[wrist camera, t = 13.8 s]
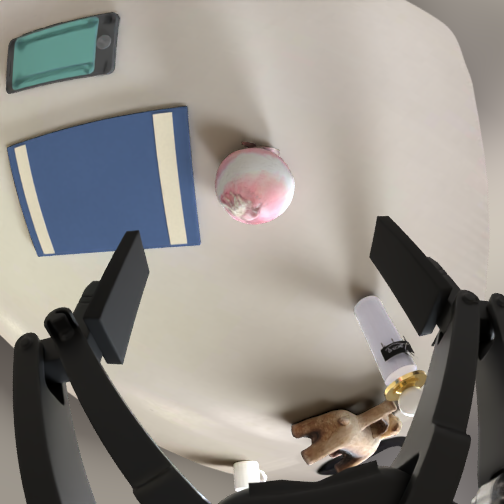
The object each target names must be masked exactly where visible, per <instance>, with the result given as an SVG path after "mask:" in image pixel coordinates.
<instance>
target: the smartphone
mask: <svg viewBox="0 0 504 504" xmlns="http://www.w3.org/2000/svg"><path fill="white" fill-rule="evenodd" d="M119 19H120V18H119V15H117V14H116V13H113V12H111V13H105V14H100V15H94V16H90V17H85V18H80V19H76V20H72V21H68V22H64V23H63V22H61V23H58V24H54V25H51V26H47V27H46V28H44V29H43V28H41V29H38V30H35V31H33V32H29V33H26V34H24V35H22V36H20V37H18V38H15V39H13V40H11V42H10V43H9V48H8V59H7V76H6V91H7V93H8V94H11V93H15V92H19V91H22V90H26V89H30V88H34V87H38V86H42V85H47V84H51V83H56V82H61V81H66V80H72V79H78V78H84V77H90V76H98V75H105V74H110V73H112V72H113V71H114V69H115V56H116V45H117V35H118V26H119Z"/></svg>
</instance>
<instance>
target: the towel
mask: <svg viewBox="0 0 504 504" xmlns="http://www.w3.org/2000/svg"><path fill="white" fill-rule="evenodd" d="M7 151H8V156H9V161H10V166H11V170H12V175H13V179H14V183H15V187H16V191H17V194H18V198H19V201H20V205H21V208H22V212H23V215H24V218H25V221H26V224H27V227H28V230H29V233H30V236H31V239H32V242H33V244H34V247H35V250H36V252H37V255H38V257H40V256H53V255H66V254H79V253H93V252H106V251H116V249H117V247H118V245H119V243H120V242H121V240H122V238H123V236H124V234H125V233H126V231H135V230H139V231H140V236H141V240H142V244H143V248H144V249H149V248H164V247H179V246H194V245H200V243H201V241H200V233H199V225H198V216H197V207H196V198H195V189H194V179H193V169H192V159H191V147H190V136H189V123H188V109H187V106H183V107H175V108H167V109H159V110H153V111H146V112H140V113H134V114H128V115H123V116H118V117H113V118H108V119H103V120H99V121H94V122H90V123H86V124H82V125H78V126H74V127H70V128H66V129H62V130H59V131H55V132H52V133H49V134H45V135H42V136H39V137H36V138H33V139H30V140H27V141H24V142H21V143H18V144H15V145H12V146H10V147H8V148H7Z"/></svg>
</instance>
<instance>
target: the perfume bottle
mask: <svg viewBox="0 0 504 504" xmlns="http://www.w3.org/2000/svg"><path fill="white" fill-rule="evenodd" d="M354 314H355V316H356V319H357V321H358V323H359V325H360V327H361V329H362V332H363V334H364V336H365V338H366V341H367V343H368V345H369V347H370V350H371V352H372V354H373V356H374V359H375V361H376V363H377V366H378V368H379V370H380V373H381V375H382V378H383V380H384V382H385V385H386V386H388V387H387V388H386V390H385V392H384V395H385V398H386V400H388V401H397V400H398V407H399V409H400V411H401V412H402V413H403V414H405V415H408V416H413V415H415V412H416V409H417V406H418V403H419V400H420V397H421V394H422V391H423V389H421V387H422V386H423V385H424V384H425V381H426V378H427V375H426V373H425V372H424V371H422V370H417V366H416V364H415V362H414V361H413V359H412V357H411V355H410V353H411V352H413V353H414V351H413V350H412V348H411V346H410V344H409V342H407V341H406V339H404V340H405V341H403V340H402V338H401V336H400V334H399V332H398V330H397V329H396V327H395V325H394V323H393V321H392V320H391V318H390V316H389V314H388V313H387V311H386V309H385V307H384V306H383V304H382V302H381V300H380V299H379V298H378V297H377V296H368V297H365V298H363V299H361V300H360V301H359V302H358V303H357V304H356V306H355V308H354ZM403 337H404V336H403ZM404 338H405V337H404ZM406 343H407V344H408V345H407V344H406ZM409 352H410V353H409ZM411 354H412V353H411ZM416 370H417V371H416Z"/></svg>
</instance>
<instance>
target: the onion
mask: <svg viewBox="0 0 504 504" xmlns="http://www.w3.org/2000/svg"><path fill="white" fill-rule="evenodd" d="M242 145H245V146H246V147H247V148H246V149H241V150H238V151H235V152H232V153H231V154H230V155H229V156H227V157H226V158H225V159H224V160H223V161H222V163H221V165H220V166H219V168H218V171H217V175H216V181H215V188H216V194H217V197H218V200H219V202H220V204H221V205H222V206H223V208H224V209H225V210H226V212H227V213H228V214H229V215H230V216H231V217H232V218H233V219H235V220H238V221H240V222H243V223H246V224H261V223H266V222H269V221H271V220H273V219H275V218H276V217H278V216H279V215H281V214H282V213H283V212H284V211H285V210H286V209H287V207H288V206H289V204H290V203H291V200H292V198H293V193H294V188H295V181H294V178H293V175H292V173H291V171H290V169H289V168H288V166H287V165H286V163H285V162H284V161H283V159H282V158H280V157H279V153H280V151H279V150H278V149H274V148H269V147H264V146H256V144H254V143H249V142H242ZM254 147H263V148H264V149H261V148H254Z"/></svg>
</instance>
